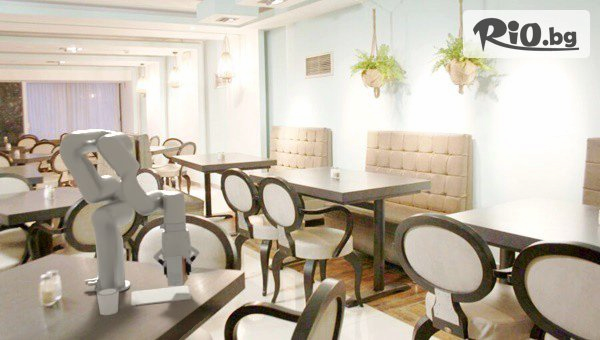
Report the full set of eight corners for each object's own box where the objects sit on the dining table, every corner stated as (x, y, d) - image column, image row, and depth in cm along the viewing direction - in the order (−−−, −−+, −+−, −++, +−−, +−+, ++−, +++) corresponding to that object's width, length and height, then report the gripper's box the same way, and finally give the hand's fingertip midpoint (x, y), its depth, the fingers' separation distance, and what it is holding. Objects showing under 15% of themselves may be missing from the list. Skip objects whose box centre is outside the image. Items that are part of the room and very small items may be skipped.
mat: (131, 306, 178) (131, 304, 178) (131, 292, 190) (131, 291, 190) (191, 299, 184) (191, 297, 183) (187, 286, 196) (187, 285, 196)
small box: (183, 286, 184) (181, 257, 182) (167, 286, 184) (165, 257, 183) (188, 278, 192) (187, 250, 190) (173, 278, 192) (171, 250, 191)
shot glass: (107, 317, 169) (105, 296, 168) (93, 313, 172) (92, 292, 171) (124, 310, 175) (123, 290, 174) (110, 306, 178) (109, 286, 177)
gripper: (149, 231, 179) (153, 281, 182) (201, 226, 184) (203, 275, 186) (149, 226, 186) (152, 275, 189) (198, 222, 191) (201, 269, 194)
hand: (177, 274), depth 188 cm, fingers closed on small box, 6 cm apart
